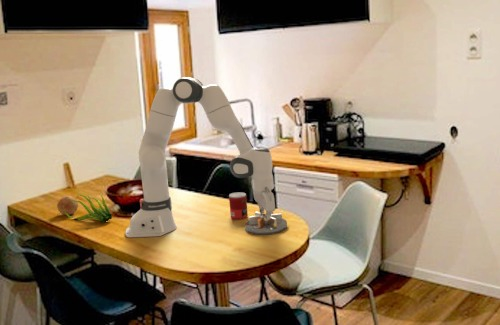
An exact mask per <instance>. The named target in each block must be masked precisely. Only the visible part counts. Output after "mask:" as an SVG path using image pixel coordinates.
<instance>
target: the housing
mask: <svg viewBox="0 0 500 325" xmlns="http://www.w3.org/2000/svg"><path fill="white" fill-rule="evenodd" d="M287 228H288V221H287V220H286V219H285V218H283V217H282V222H277V225H276V223H274V226H271V225H269V224H268V225H264V226H263V227H262V228H258V224H253V225H250V221H249V220H247V221H246V222H245V228H244V229H245V231H246V232H247V233H249V234H251V235H257V236H269V235H270V236H272V235H276V234H280V233H282V232H285V230H287Z"/></svg>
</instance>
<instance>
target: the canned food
mask: <svg viewBox="0 0 500 325" xmlns="http://www.w3.org/2000/svg"><path fill="white" fill-rule="evenodd" d="M247 200H248V199H247V193H245V192H242V191H241V192H238V191H237V192H232V193H229V195H228V201H229V210H230V218H231V220H232V219H233V220H234V221H236V220H237V221H239V220H244V219H247V217H248V215H249V214H248V201H247Z"/></svg>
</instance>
